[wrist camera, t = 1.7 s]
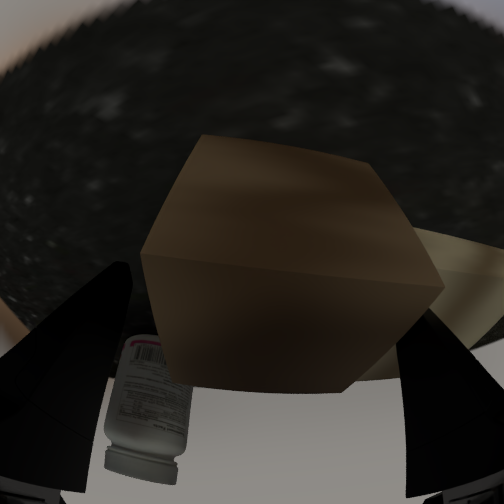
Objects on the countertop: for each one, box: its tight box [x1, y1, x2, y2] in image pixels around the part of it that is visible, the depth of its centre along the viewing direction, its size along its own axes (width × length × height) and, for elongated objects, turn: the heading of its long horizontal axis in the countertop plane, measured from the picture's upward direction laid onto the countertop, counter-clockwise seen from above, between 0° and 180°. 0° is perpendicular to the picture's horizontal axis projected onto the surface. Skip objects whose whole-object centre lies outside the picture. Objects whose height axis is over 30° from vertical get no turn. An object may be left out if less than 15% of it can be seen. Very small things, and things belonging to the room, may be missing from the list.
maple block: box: [356, 228, 504, 381], centre depth 12 cm, size 9×9×3 cm
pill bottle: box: [104, 334, 193, 485], centre depth 13 cm, size 5×5×8 cm
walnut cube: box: [140, 135, 445, 394], centre depth 7 cm, size 5×5×5 cm
